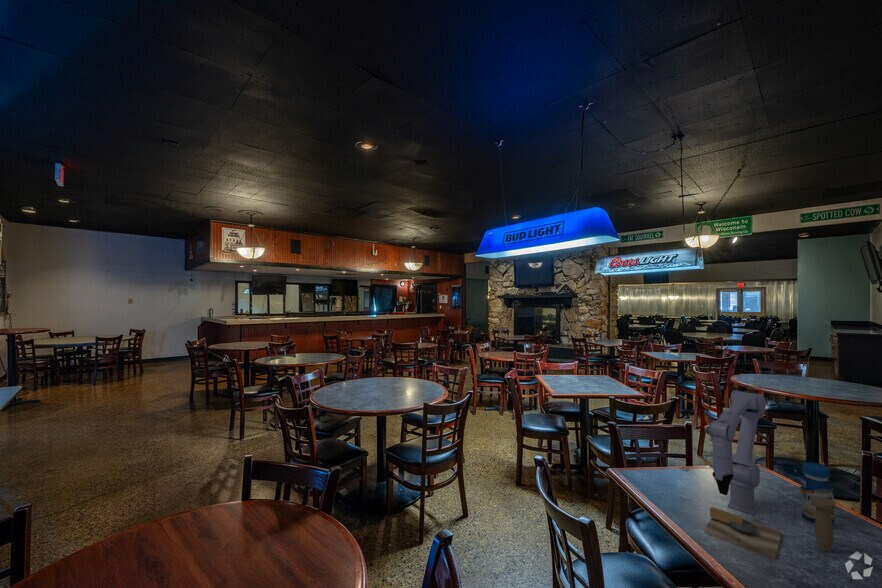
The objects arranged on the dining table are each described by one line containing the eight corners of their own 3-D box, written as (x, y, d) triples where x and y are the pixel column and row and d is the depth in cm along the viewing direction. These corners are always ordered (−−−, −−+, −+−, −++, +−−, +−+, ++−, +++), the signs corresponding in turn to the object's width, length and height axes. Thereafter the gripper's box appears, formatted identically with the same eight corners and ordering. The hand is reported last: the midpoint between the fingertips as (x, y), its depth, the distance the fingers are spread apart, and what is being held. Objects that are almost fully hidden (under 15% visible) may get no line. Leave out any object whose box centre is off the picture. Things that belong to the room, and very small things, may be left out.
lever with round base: (757, 527, 124) (757, 518, 124) (754, 536, 119) (754, 526, 119) (712, 512, 133) (712, 503, 133) (708, 519, 128) (708, 511, 128)
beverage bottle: (833, 522, 131) (831, 465, 131) (836, 532, 125) (833, 473, 125) (800, 513, 136) (798, 458, 137) (801, 523, 130) (799, 466, 131)
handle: (841, 552, 115) (839, 503, 115) (827, 555, 113) (825, 506, 114) (822, 542, 119) (820, 496, 120) (808, 546, 118) (806, 498, 118)
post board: (716, 512, 137) (716, 507, 137) (781, 534, 124) (781, 528, 124) (704, 533, 125) (704, 527, 125) (775, 559, 111) (775, 552, 111)
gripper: (713, 447, 141) (714, 483, 140) (704, 458, 131) (705, 496, 131) (736, 452, 136) (738, 490, 135) (728, 464, 126) (730, 504, 125)
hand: (723, 493), depth 133 cm, fingers closed
